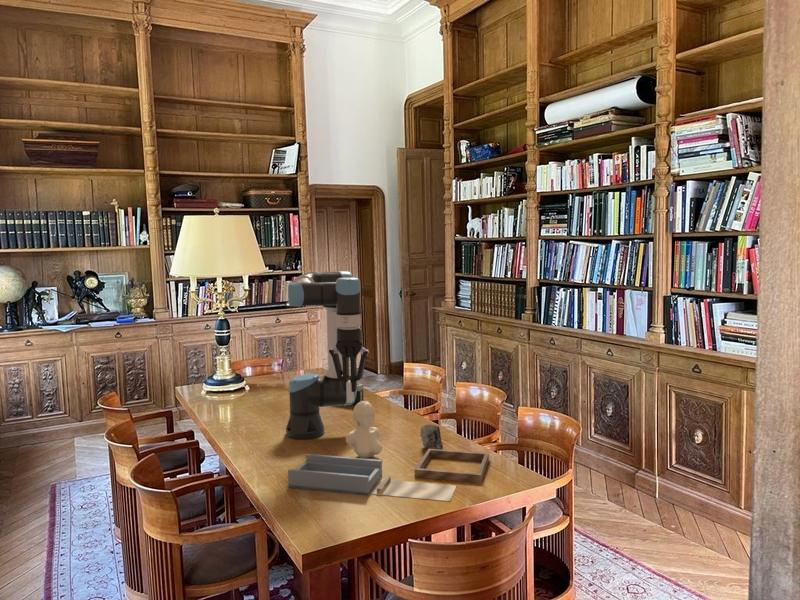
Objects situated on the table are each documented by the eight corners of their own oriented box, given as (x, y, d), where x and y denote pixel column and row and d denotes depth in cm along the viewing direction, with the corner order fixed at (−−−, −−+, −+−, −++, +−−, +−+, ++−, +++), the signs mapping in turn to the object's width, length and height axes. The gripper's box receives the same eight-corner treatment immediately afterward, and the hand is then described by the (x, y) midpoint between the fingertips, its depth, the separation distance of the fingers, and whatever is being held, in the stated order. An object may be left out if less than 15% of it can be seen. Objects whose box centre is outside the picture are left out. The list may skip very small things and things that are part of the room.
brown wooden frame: (414, 476, 200) (414, 469, 200) (428, 455, 220) (428, 448, 219) (480, 482, 195) (480, 475, 194) (488, 460, 214) (488, 453, 214)
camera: (368, 402, 293) (368, 381, 292) (358, 406, 286) (358, 385, 285) (345, 398, 301) (344, 378, 300) (334, 402, 294) (334, 381, 293)
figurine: (355, 464, 212) (354, 407, 210) (342, 456, 219) (341, 401, 218) (388, 456, 219) (388, 401, 217) (375, 449, 227) (374, 396, 225)
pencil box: (288, 487, 193) (287, 470, 192) (307, 470, 207) (307, 453, 207) (367, 495, 186) (367, 477, 186) (382, 476, 201) (381, 460, 200)
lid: (369, 495, 187) (369, 488, 187) (380, 481, 198) (380, 474, 198) (449, 503, 181) (449, 496, 181) (456, 488, 192) (456, 481, 192)
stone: (446, 421, 225) (419, 419, 229) (440, 445, 219) (413, 442, 222) (449, 436, 232) (424, 433, 235) (444, 459, 226) (418, 456, 229)
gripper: (324, 328, 190) (326, 403, 193) (365, 330, 187) (366, 406, 190) (333, 325, 198) (335, 397, 200) (372, 326, 194) (373, 399, 197)
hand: (350, 401), depth 195 cm, fingers closed
